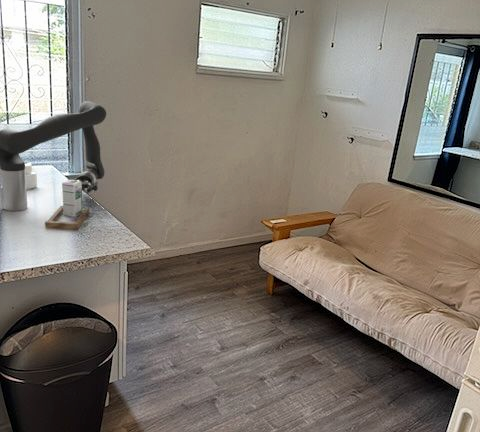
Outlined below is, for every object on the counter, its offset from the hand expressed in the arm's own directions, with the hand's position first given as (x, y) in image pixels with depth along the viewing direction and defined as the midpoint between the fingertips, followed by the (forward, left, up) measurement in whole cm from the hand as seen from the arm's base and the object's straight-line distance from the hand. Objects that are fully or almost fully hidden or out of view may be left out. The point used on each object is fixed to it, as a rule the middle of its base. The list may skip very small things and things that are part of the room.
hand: (77, 190), depth 195 cm
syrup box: (0, -9, -8) cm, 12 cm away
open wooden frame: (+1, -16, -8) cm, 18 cm away
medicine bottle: (-31, +24, -8) cm, 40 cm away
